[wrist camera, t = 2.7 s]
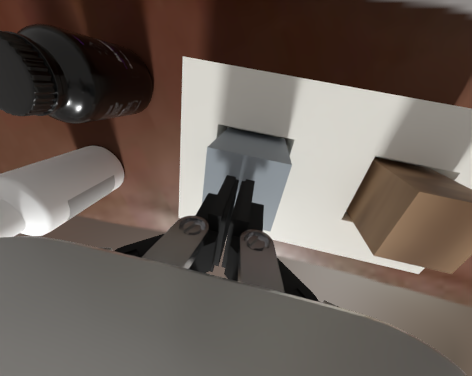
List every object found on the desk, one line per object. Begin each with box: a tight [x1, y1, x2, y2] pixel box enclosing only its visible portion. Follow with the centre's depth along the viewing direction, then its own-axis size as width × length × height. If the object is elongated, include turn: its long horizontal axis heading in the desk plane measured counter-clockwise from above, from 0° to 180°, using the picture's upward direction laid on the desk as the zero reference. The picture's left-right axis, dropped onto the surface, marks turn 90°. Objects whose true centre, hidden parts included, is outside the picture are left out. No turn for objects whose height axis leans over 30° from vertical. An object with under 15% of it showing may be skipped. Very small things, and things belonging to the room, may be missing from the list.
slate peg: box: [202, 127, 292, 231], centre depth 15 cm, size 5×5×6 cm
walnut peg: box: [346, 157, 472, 274], centre depth 14 cm, size 5×5×6 cm
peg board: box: [179, 57, 472, 274], centre depth 19 cm, size 24×14×8 cm, turn 82°
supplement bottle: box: [0, 24, 153, 123], centre depth 17 cm, size 7×7×12 cm
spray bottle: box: [0, 146, 124, 237], centre depth 21 cm, size 7×7×18 cm
